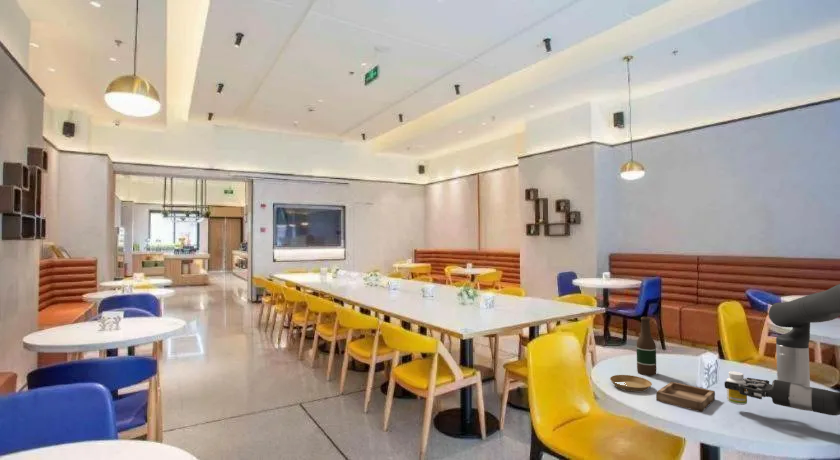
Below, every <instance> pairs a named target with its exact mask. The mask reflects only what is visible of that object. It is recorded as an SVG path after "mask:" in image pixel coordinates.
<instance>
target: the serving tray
mask: <svg viewBox="0 0 840 460" xmlns="http://www.w3.org/2000/svg"><path fill="white" fill-rule="evenodd" d="M715 394H716V393H715V390H711V389H707V388H702V387H697V386H693V385H688V384H684V383H679V382H676V381H675V382H674V381H670V382H669V383H667V384H666V385H664V386H663V387H661V388H660V389H658V390H656V393H655V395H656V397H655V398H656V401H657V402H660V403H661V402H662V403H664V404H668V405H673V406H677V407H681V408H685V409H689V410H692V411H697V412H700V413H702V412H703V411H705V409H707V408H708V407H709V406H710V405H711V404H712V403H713V402H714V401H715V399H716V395H715Z"/></svg>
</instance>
